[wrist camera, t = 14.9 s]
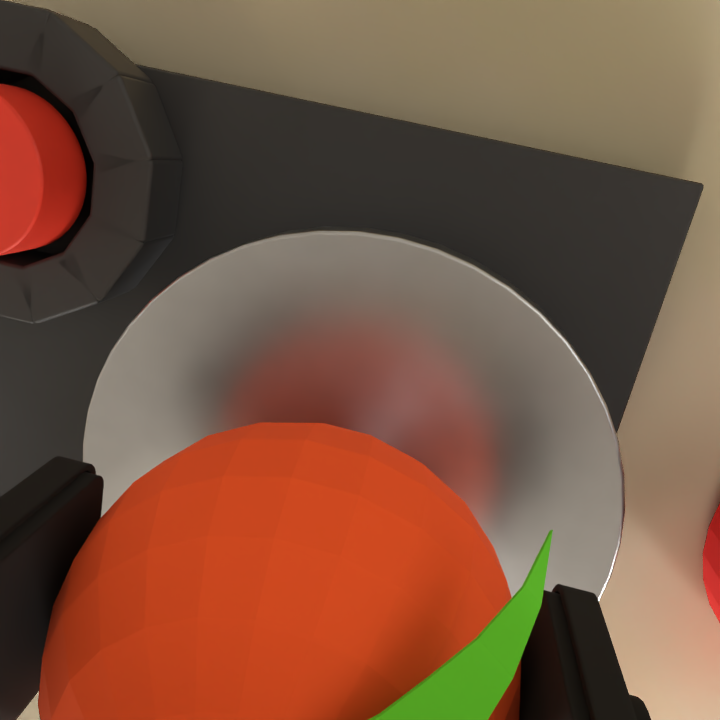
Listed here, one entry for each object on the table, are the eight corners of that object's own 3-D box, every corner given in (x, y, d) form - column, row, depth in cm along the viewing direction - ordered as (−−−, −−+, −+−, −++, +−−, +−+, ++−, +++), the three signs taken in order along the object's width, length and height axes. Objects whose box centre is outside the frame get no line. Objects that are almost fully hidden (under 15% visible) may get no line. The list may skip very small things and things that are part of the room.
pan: (83, 630, 16) (64, 654, 15) (124, 170, 13) (102, 171, 12) (529, 753, 15) (533, 784, 15) (697, 298, 12) (714, 308, 11)
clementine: (392, 251, 12) (331, 381, 5) (619, 534, 13) (824, 960, 6) (95, 493, 14) (-236, 816, 7) (309, 718, 15) (203, 1183, 8)
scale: (-41, 512, 19) (-127, 573, 17) (-33, 5, 15) (-145, -31, 12) (517, 661, 18) (529, 753, 15) (691, 156, 14) (751, 154, 11)
